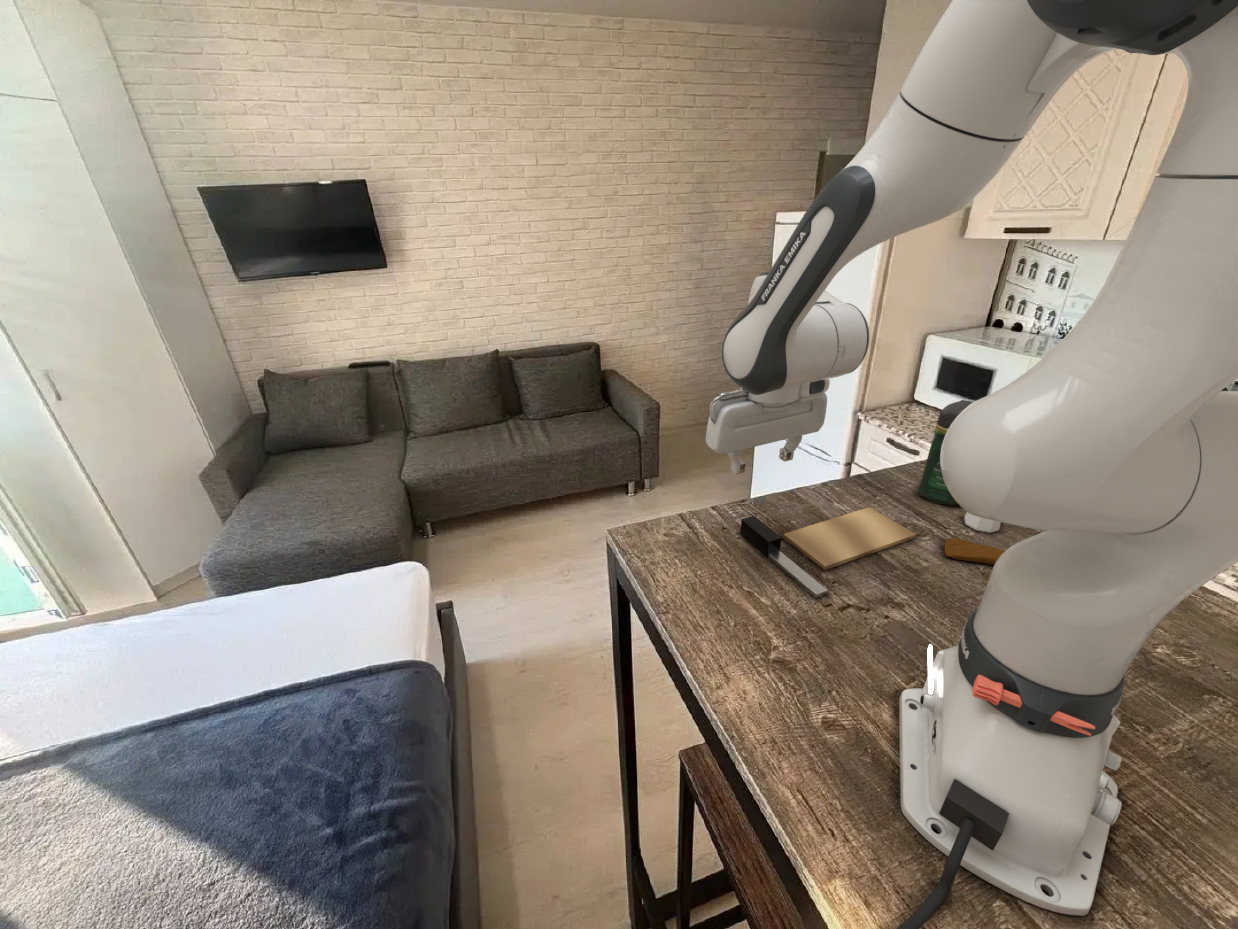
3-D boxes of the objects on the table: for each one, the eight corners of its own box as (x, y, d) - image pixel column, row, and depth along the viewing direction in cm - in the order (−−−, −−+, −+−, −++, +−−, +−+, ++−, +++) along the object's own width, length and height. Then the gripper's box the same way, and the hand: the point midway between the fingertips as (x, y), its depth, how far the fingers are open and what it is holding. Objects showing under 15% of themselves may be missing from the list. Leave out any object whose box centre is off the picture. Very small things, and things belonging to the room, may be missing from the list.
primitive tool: (944, 557, 82) (950, 539, 81) (944, 539, 87) (949, 522, 85) (1097, 593, 74) (1107, 574, 72) (1088, 572, 78) (1097, 553, 76)
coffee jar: (958, 511, 94) (988, 418, 86) (912, 497, 99) (936, 407, 91) (971, 491, 100) (1000, 402, 92) (927, 479, 105) (951, 393, 97)
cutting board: (824, 570, 80) (825, 566, 80) (782, 537, 89) (783, 533, 88) (915, 538, 87) (916, 534, 87) (868, 510, 96) (869, 506, 95)
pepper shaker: (958, 524, 90) (976, 469, 85) (968, 513, 94) (986, 459, 89) (994, 537, 87) (1014, 480, 82) (1003, 524, 90) (1023, 469, 85)
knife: (828, 594, 76) (831, 577, 74) (814, 599, 75) (817, 582, 73) (752, 530, 91) (753, 515, 89) (739, 534, 90) (741, 519, 89)
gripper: (723, 401, 70) (718, 488, 76) (839, 378, 77) (824, 460, 83) (699, 388, 75) (696, 471, 81) (809, 368, 82) (798, 445, 88)
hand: (762, 465), depth 82 cm, fingers open, 8 cm apart
